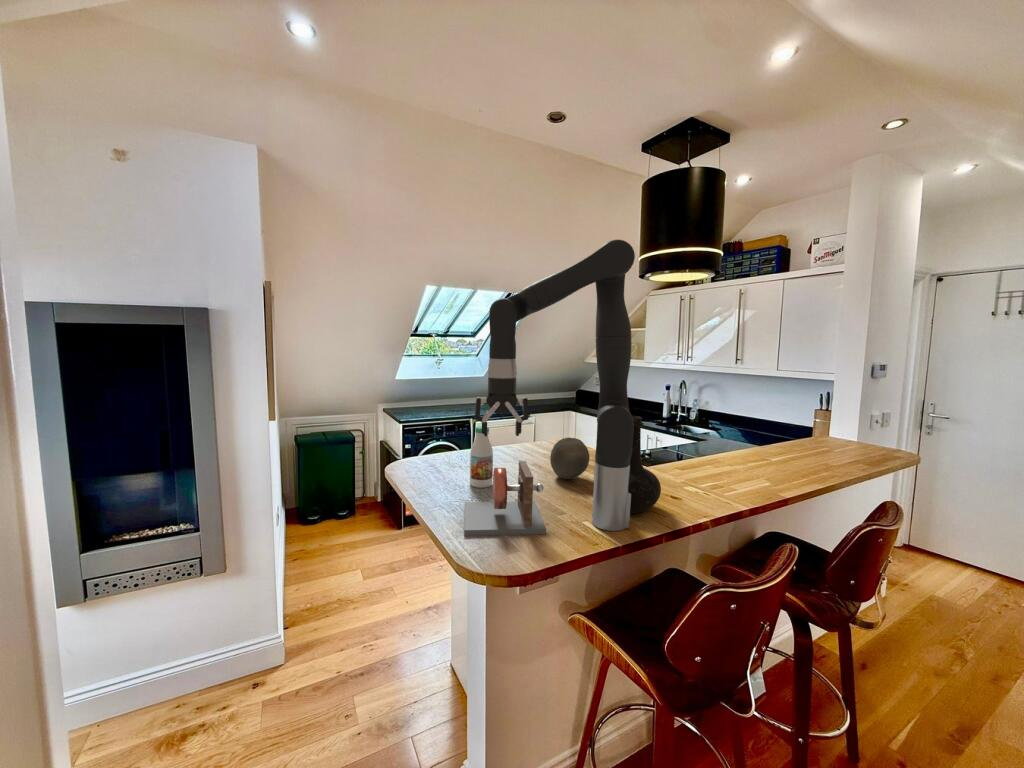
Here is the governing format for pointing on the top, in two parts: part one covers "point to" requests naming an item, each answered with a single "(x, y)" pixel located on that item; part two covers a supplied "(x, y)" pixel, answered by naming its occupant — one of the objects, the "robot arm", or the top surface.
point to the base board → (499, 520)
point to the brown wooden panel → (525, 492)
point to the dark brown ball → (569, 458)
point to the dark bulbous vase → (641, 476)
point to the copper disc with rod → (505, 488)
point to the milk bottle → (481, 460)
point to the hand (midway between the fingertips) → (501, 435)
